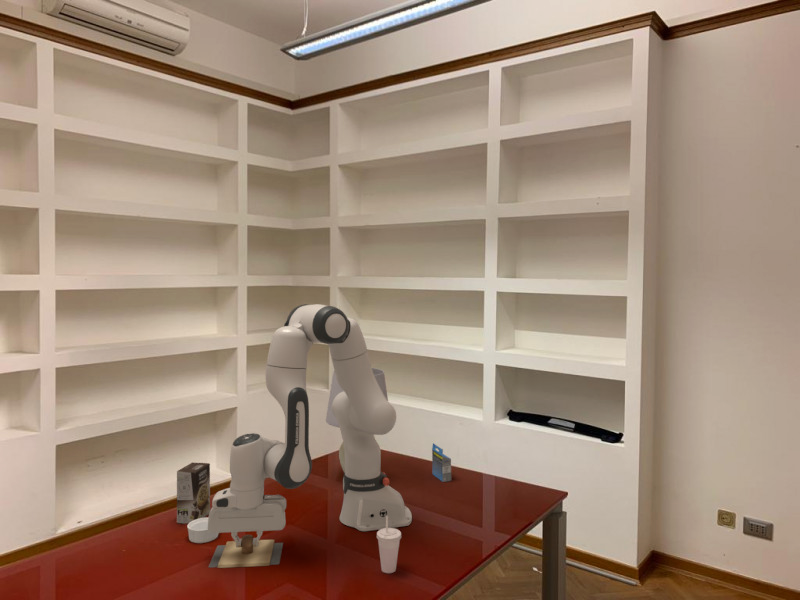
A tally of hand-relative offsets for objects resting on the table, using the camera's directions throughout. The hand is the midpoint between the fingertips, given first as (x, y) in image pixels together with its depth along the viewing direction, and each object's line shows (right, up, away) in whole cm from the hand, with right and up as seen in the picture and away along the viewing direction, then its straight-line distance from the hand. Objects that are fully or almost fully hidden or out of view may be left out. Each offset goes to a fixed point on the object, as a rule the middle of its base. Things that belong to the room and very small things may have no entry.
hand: (247, 546), depth 157 cm
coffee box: (-23, -2, +24) cm, 33 cm away
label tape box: (+57, 0, +61) cm, 83 cm away
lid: (0, -2, 0) cm, 2 cm away
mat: (0, -3, 0) cm, 3 cm away
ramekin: (-15, -2, +11) cm, 19 cm away
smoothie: (+38, -4, -6) cm, 39 cm away
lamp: (+26, 0, +59) cm, 65 cm away
